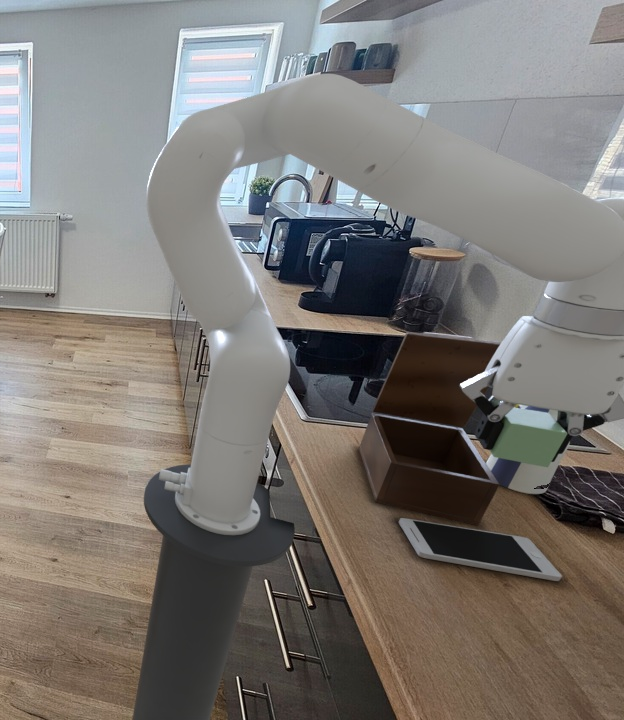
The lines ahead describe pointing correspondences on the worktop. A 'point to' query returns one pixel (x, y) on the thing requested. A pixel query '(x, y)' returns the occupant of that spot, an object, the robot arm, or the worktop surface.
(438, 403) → the chest lid
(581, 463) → the worktop surface
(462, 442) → the chest
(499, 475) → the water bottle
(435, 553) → the smartphone
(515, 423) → the block
